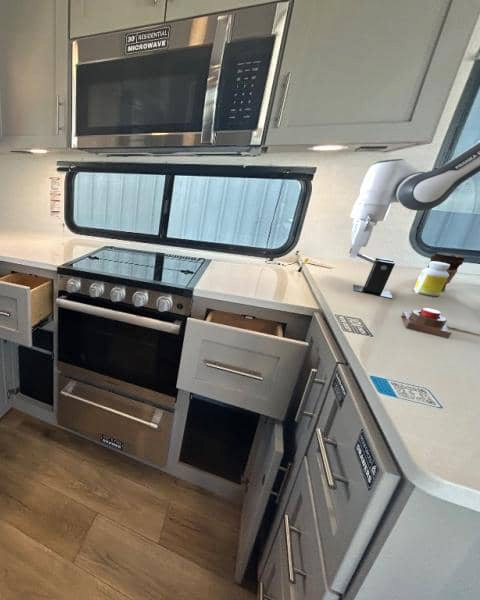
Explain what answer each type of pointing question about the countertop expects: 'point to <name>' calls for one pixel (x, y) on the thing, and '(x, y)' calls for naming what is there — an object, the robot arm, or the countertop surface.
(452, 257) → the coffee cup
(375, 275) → the switch bracket
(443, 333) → the button block
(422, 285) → the pill bottle
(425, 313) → the button
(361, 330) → the countertop surface
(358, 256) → the switch lever
